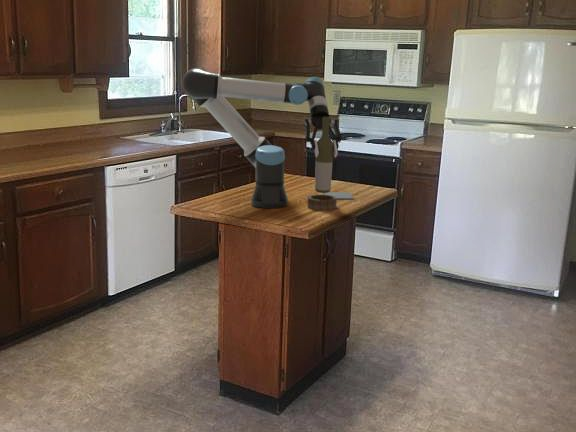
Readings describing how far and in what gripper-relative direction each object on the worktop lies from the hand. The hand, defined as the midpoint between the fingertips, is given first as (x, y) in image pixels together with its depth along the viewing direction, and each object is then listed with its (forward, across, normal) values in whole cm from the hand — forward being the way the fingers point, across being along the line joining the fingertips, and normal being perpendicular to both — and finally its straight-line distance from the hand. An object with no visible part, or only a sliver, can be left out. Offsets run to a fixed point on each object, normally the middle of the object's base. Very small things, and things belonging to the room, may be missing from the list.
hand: (326, 155), depth 252 cm
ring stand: (+13, 0, -18) cm, 22 cm away
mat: (0, -12, -31) cm, 33 cm away
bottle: (+9, 0, -14) cm, 16 cm away
